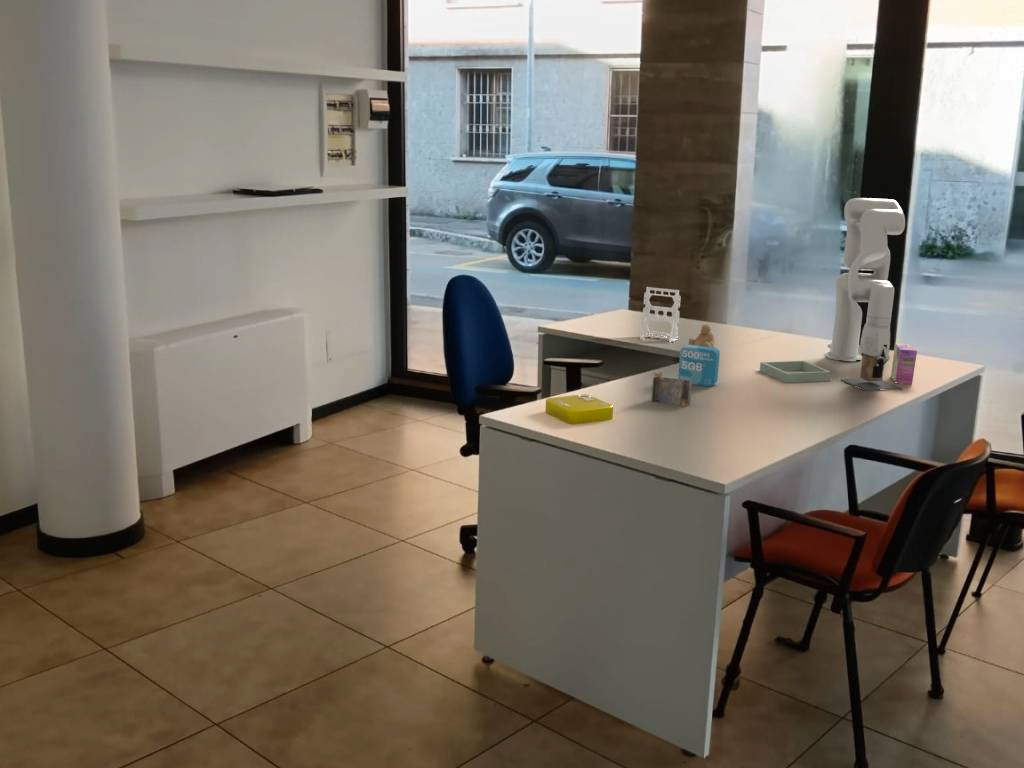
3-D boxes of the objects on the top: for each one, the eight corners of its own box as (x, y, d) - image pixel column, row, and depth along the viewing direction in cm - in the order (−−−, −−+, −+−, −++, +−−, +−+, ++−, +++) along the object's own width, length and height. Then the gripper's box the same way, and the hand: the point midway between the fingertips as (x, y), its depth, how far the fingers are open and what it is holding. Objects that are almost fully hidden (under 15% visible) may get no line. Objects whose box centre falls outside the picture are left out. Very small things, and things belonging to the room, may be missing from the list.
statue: (731, 331, 377) (713, 325, 371) (720, 368, 378) (702, 363, 372) (706, 325, 387) (688, 319, 380) (695, 362, 388) (677, 357, 381)
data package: (677, 382, 344) (680, 346, 341) (681, 379, 348) (684, 343, 345) (713, 387, 339) (716, 350, 336) (717, 384, 343) (720, 348, 340)
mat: (840, 380, 354) (840, 379, 354) (875, 379, 358) (876, 377, 358) (865, 390, 341) (865, 389, 341) (901, 389, 345) (902, 387, 345)
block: (860, 377, 351) (862, 354, 349) (872, 377, 353) (875, 353, 351) (869, 381, 346) (872, 357, 345) (882, 380, 348) (885, 357, 346)
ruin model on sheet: (650, 403, 319) (653, 371, 316) (653, 400, 322) (655, 369, 319) (687, 407, 315) (690, 376, 312) (690, 405, 318) (692, 374, 315)
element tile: (542, 412, 304) (543, 396, 303) (585, 407, 311) (586, 391, 310) (570, 426, 291) (571, 409, 290) (615, 420, 299) (616, 404, 297)
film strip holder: (682, 337, 416) (686, 287, 411) (672, 344, 404) (676, 292, 399) (647, 333, 421) (650, 284, 417) (636, 339, 409) (640, 288, 404)
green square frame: (759, 370, 365) (760, 362, 364) (802, 368, 370) (803, 360, 369) (785, 382, 349) (786, 373, 348) (830, 380, 354) (831, 371, 353)
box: (912, 384, 352) (917, 350, 350) (894, 383, 354) (899, 348, 351) (907, 377, 362) (912, 344, 359) (890, 376, 363) (894, 342, 361)
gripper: (853, 317, 352) (846, 370, 356) (884, 327, 336) (877, 382, 340) (872, 316, 354) (866, 369, 358) (904, 326, 338) (897, 381, 342)
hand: (871, 375), depth 349 cm, fingers closed on block, 5 cm apart
